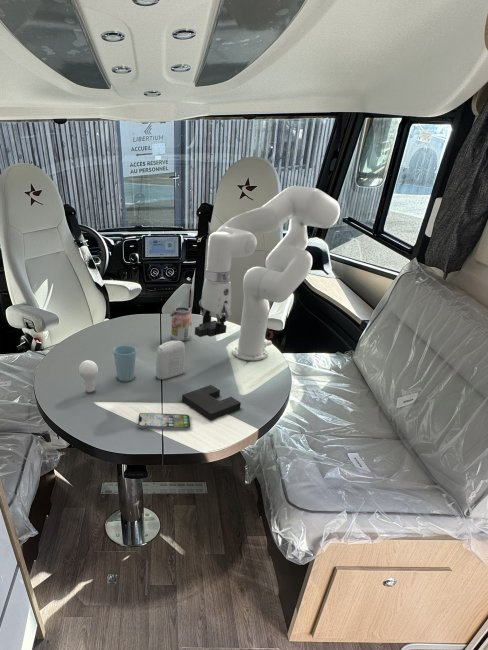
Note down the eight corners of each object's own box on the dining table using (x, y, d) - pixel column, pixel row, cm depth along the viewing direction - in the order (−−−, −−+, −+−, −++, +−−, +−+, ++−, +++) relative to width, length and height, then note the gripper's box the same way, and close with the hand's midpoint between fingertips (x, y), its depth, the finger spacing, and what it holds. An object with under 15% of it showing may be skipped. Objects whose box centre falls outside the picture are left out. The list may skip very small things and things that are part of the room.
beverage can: (166, 335, 185) (167, 306, 178) (184, 332, 187) (185, 304, 180) (176, 343, 178) (177, 314, 171) (194, 340, 181) (196, 311, 174)
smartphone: (190, 428, 126) (138, 426, 126) (190, 431, 127) (138, 429, 127) (189, 414, 132) (139, 412, 132) (188, 417, 133) (139, 415, 133)
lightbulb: (102, 389, 147) (100, 358, 140) (94, 397, 142) (92, 366, 135) (85, 386, 148) (83, 355, 142) (77, 394, 144) (74, 363, 137)
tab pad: (214, 327, 154) (215, 320, 153) (225, 332, 150) (226, 325, 149) (191, 332, 150) (192, 325, 148) (202, 338, 146) (203, 331, 144)
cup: (138, 373, 156) (137, 345, 150) (134, 383, 150) (134, 355, 144) (117, 372, 157) (115, 344, 151) (113, 382, 151) (111, 353, 145)
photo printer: (178, 369, 159) (179, 336, 152) (185, 373, 156) (187, 340, 149) (154, 376, 154) (154, 343, 147) (161, 381, 151) (161, 347, 144)
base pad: (210, 391, 146) (210, 384, 144) (240, 409, 136) (241, 402, 135) (181, 401, 140) (182, 394, 139) (210, 421, 131) (211, 414, 129)
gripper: (245, 280, 136) (237, 336, 146) (209, 268, 147) (205, 321, 158) (226, 284, 132) (220, 341, 143) (191, 271, 144) (188, 325, 154)
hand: (212, 330), depth 150 cm, fingers closed on tab pad, 6 cm apart
